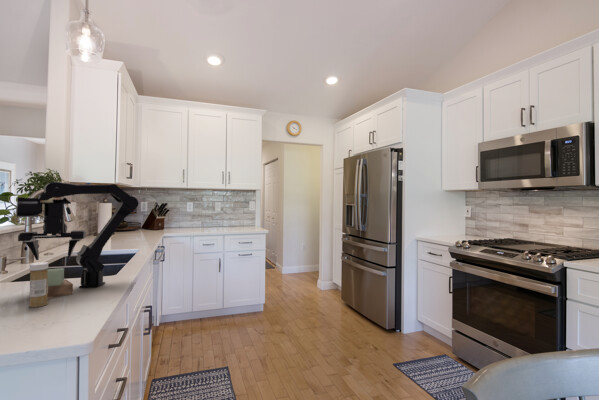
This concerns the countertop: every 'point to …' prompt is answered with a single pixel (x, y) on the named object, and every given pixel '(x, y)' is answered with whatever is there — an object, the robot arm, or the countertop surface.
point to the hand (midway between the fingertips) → (53, 259)
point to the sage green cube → (55, 276)
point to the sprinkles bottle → (38, 284)
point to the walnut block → (60, 289)
